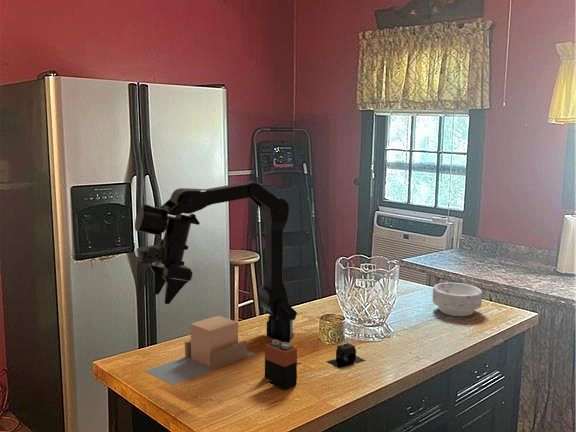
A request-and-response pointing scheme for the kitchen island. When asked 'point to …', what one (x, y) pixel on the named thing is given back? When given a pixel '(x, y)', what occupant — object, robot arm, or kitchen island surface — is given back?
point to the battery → (281, 364)
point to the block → (212, 337)
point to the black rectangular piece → (345, 356)
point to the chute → (199, 363)
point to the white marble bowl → (457, 298)
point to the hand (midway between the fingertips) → (161, 298)
